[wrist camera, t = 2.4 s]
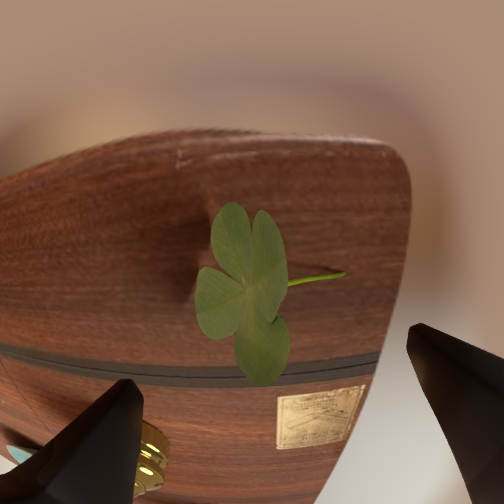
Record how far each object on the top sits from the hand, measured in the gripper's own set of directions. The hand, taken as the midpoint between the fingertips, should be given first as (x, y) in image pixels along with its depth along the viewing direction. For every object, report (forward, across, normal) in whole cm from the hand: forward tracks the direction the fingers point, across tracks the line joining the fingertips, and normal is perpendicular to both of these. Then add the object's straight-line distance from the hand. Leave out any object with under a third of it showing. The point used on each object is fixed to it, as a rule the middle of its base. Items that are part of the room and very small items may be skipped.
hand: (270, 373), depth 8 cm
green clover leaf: (+7, 0, 0) cm, 7 cm away
